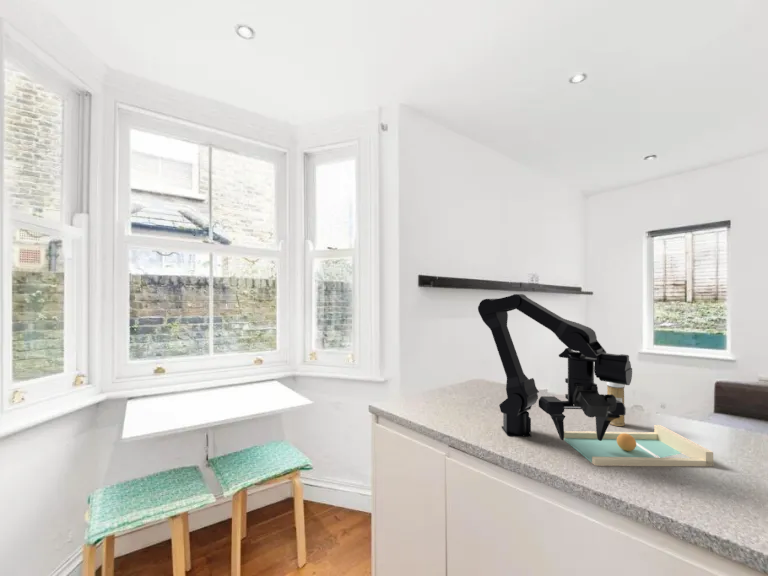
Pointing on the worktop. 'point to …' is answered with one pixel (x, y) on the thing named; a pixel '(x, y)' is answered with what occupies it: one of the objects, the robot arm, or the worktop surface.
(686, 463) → the lane
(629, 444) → the ball
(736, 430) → the worktop surface
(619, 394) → the sprinkles bottle
